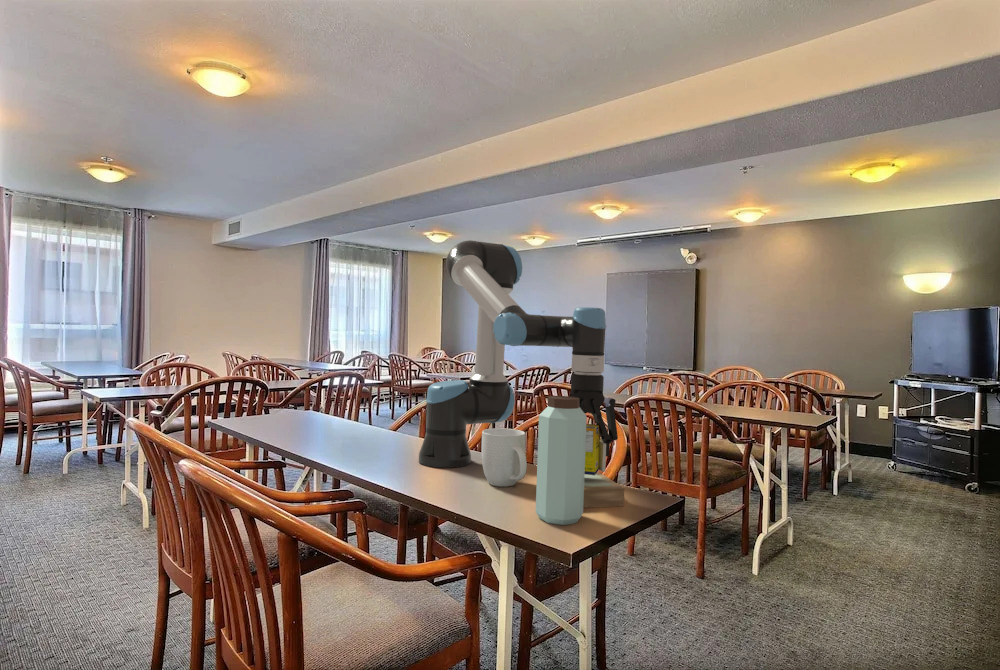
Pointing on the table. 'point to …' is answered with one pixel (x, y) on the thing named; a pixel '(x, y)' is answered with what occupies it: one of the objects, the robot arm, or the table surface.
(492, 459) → the mug
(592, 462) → the supplement box
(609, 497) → the oak stand
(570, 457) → the water bottle
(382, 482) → the table surface
